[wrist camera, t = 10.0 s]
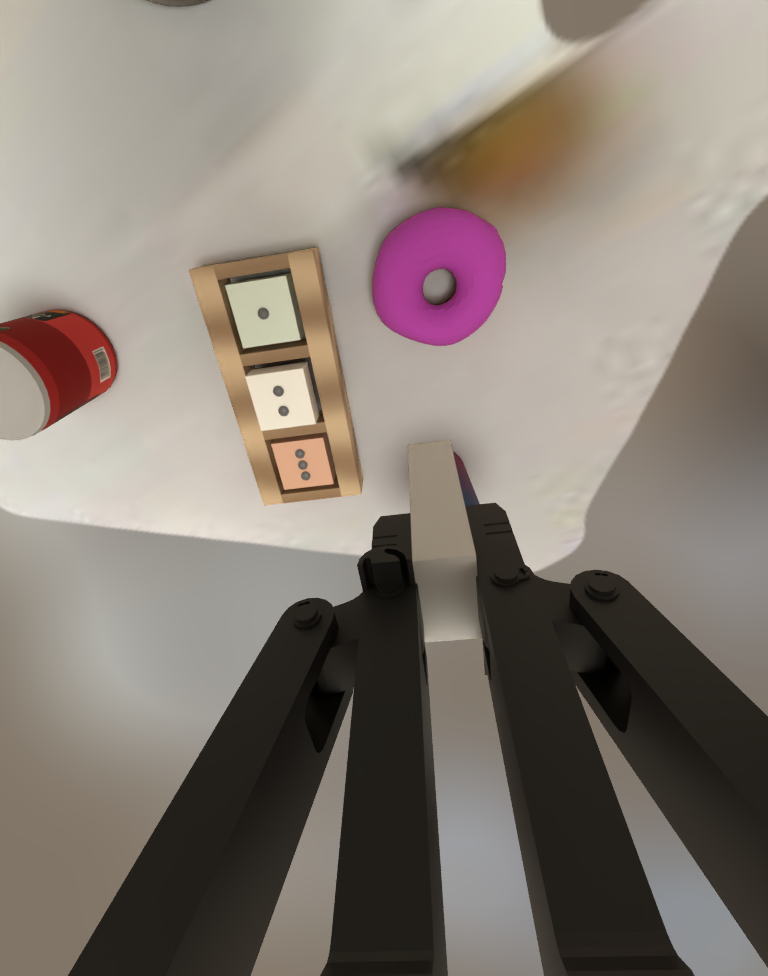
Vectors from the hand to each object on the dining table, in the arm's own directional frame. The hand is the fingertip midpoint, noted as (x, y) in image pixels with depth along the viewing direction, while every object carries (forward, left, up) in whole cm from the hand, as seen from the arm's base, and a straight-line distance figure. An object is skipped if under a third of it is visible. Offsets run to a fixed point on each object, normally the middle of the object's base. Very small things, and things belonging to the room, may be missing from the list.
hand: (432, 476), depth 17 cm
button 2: (+4, -12, -26) cm, 29 cm away
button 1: (-3, -12, -28) cm, 30 cm away
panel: (+4, -12, -28) cm, 31 cm away
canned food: (-2, -31, -29) cm, 42 cm away
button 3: (+11, -12, -27) cm, 32 cm away
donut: (-3, +2, -29) cm, 29 cm away
